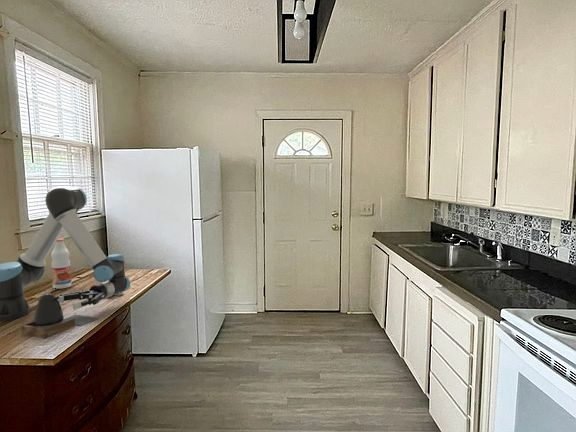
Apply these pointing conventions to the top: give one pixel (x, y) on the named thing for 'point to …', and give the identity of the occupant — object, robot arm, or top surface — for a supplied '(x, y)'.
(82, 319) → the grey mat
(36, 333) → the walnut caddy
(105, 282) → the robot arm
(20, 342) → the top surface
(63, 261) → the fruit juice
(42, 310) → the pump dispenser
